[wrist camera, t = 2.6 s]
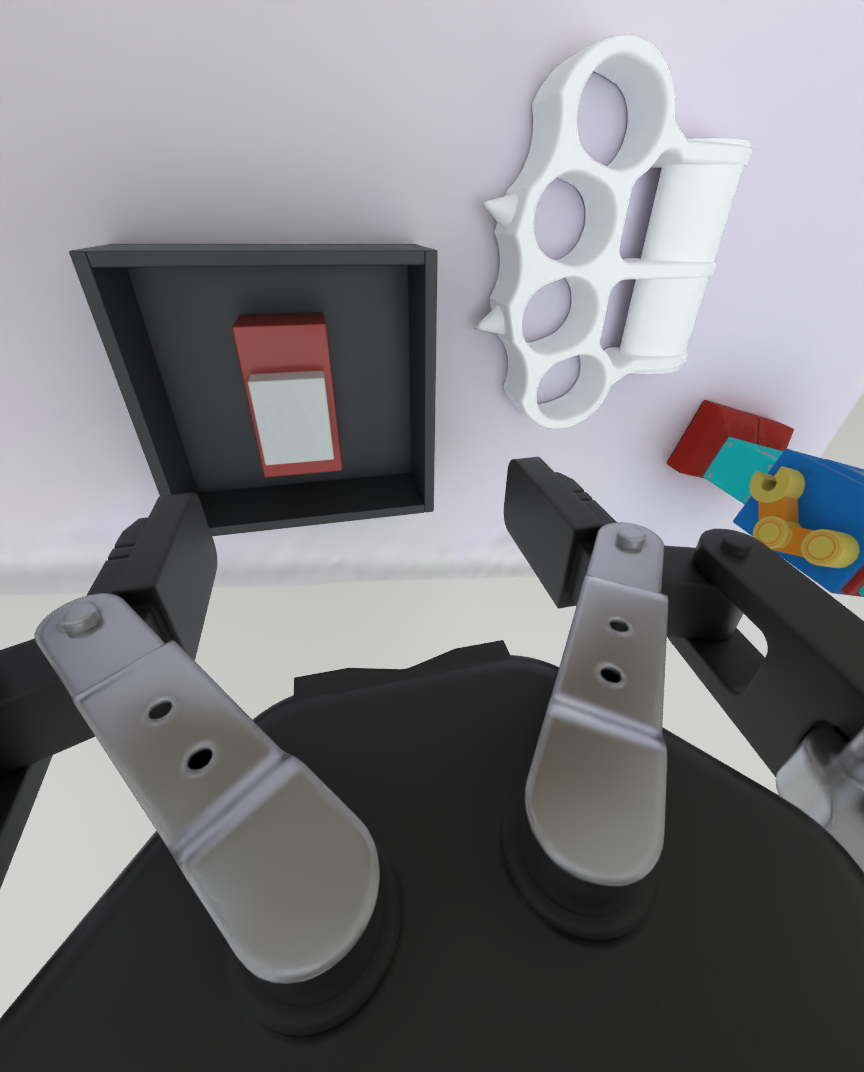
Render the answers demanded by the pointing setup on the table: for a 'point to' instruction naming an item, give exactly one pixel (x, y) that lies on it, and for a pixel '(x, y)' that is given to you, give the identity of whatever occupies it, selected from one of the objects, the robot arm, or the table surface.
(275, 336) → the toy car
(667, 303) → the knuckle duster
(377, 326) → the storage box
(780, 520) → the toy robot
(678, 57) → the table surface
